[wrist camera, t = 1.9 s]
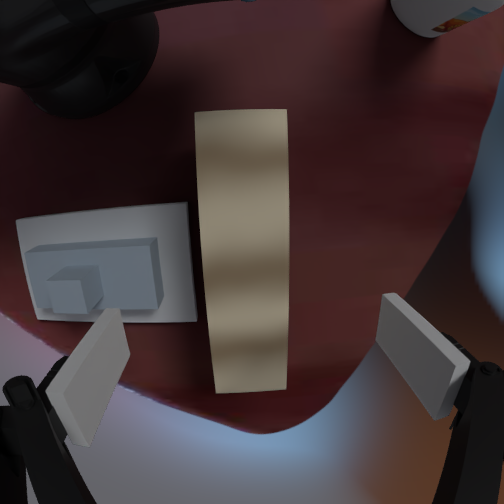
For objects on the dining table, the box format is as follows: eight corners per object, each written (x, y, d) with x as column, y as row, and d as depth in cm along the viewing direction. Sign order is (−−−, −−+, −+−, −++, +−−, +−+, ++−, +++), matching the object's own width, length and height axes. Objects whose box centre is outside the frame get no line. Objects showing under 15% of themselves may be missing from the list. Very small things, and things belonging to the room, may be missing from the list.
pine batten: (202, 123, 25) (194, 112, 19) (274, 120, 25) (286, 109, 19) (218, 354, 31) (216, 393, 25) (277, 351, 31) (286, 388, 25)
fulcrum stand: (21, 218, 28) (-24, 235, 20) (187, 201, 29) (172, 216, 21) (42, 314, 32) (8, 348, 24) (197, 316, 33) (189, 361, 25)
